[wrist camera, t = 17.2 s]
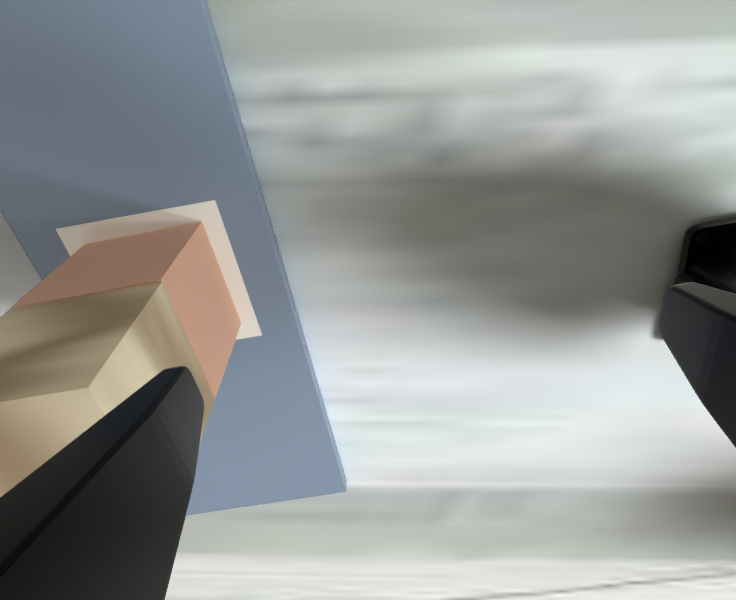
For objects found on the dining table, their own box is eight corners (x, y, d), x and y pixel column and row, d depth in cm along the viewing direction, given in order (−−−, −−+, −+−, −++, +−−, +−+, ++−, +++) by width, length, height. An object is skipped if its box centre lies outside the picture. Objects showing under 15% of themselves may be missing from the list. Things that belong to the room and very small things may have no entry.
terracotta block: (202, 221, 19) (160, 279, 15) (241, 323, 22) (215, 398, 17) (84, 244, 20) (10, 307, 15) (136, 342, 22) (86, 420, 18)
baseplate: (142, -213, 14) (131, -227, 13) (346, 480, 29) (346, 492, 28) (-184, -138, 14) (-212, -147, 13) (185, 504, 29) (181, 516, 28)
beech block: (161, 281, 15) (88, 387, 11) (214, 399, 18) (172, 523, 13) (10, 307, 15) (-121, 421, 11) (84, 420, 18) (0, 549, 13)
